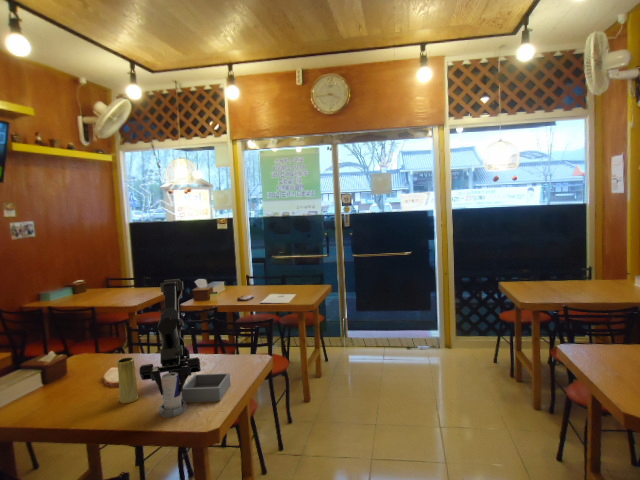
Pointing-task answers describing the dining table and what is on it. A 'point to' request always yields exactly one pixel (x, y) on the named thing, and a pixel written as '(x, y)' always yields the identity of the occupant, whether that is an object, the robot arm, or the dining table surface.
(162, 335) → the robot arm
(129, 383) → the vase
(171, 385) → the energy drink
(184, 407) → the metal collar
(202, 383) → the bin
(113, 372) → the bread slice
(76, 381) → the dining table surface
